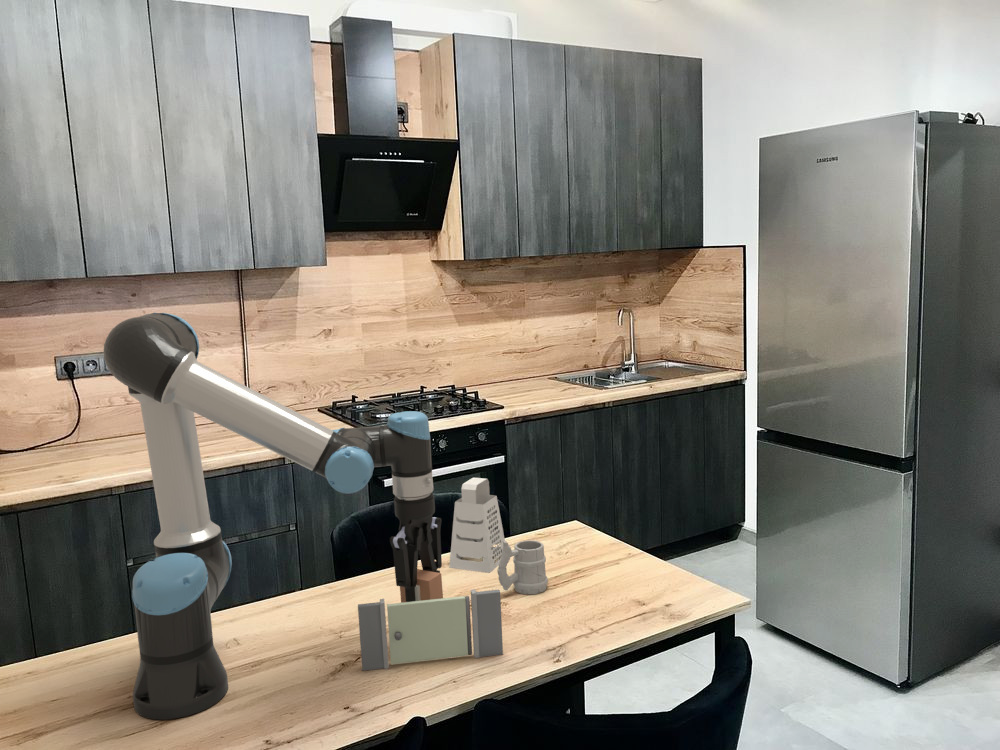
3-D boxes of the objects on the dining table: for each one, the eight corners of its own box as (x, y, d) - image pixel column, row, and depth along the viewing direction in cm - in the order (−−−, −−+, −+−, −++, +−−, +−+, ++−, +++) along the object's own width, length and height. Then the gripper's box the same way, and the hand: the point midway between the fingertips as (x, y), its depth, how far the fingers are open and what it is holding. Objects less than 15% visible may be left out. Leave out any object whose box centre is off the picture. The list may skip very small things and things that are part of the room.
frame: (362, 671, 148) (357, 605, 146) (362, 666, 149) (357, 601, 148) (503, 655, 151) (500, 590, 150) (501, 650, 153) (498, 586, 151)
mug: (555, 589, 180) (553, 536, 178) (508, 603, 174) (506, 548, 172) (535, 578, 186) (533, 527, 185) (490, 591, 180) (488, 538, 179)
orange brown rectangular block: (402, 615, 158) (398, 575, 157) (414, 607, 162) (411, 567, 161) (432, 621, 155) (428, 581, 154) (444, 613, 158) (441, 573, 157)
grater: (507, 557, 200) (504, 476, 197) (489, 573, 191) (485, 488, 188) (468, 552, 205) (465, 473, 202) (449, 567, 195) (444, 485, 192)
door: (391, 667, 148) (387, 608, 146) (390, 661, 150) (386, 604, 148) (473, 657, 150) (470, 600, 148) (471, 652, 152) (468, 595, 150)
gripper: (402, 510, 146) (411, 635, 149) (455, 484, 160) (463, 598, 164) (368, 505, 149) (378, 627, 153) (424, 480, 164) (432, 592, 167)
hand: (422, 612), depth 158 cm, fingers closed on orange brown rectangular block, 4 cm apart
